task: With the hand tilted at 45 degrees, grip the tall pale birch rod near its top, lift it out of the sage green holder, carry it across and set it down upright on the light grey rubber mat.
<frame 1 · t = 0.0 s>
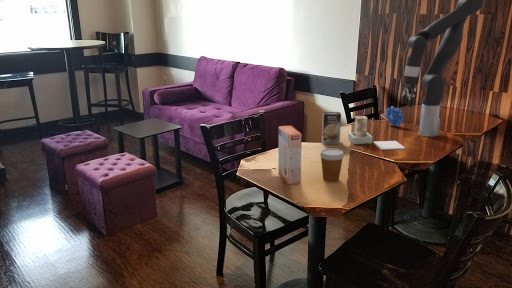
hand: (406, 105, 212), 17 cm above the table, tool pointing down, fingers open, 8 cm apart
coffee box: (330, 142, 208), on the table
grey mat: (388, 145, 201), on the table
disposable coffee cup: (330, 180, 160), on the table
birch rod: (360, 129, 208), in the sage holder
sage holder: (359, 140, 210), on the table
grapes: (392, 126, 236), on the table
cracker box: (289, 178, 163), on the table
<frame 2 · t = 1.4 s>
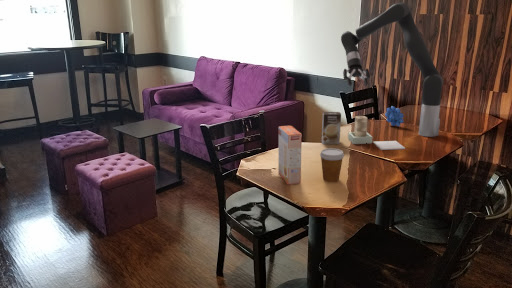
hand: (358, 85, 216), 27 cm above the table, tool tilted 45°, fingers open, 8 cm apart
nothing on the table moved.
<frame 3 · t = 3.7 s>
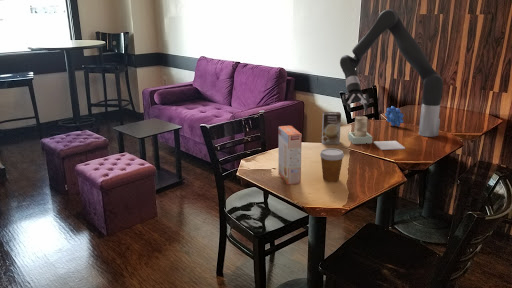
hand: (358, 110, 211), 15 cm above the table, tool tilted 45°, fingers open, 8 cm apart
nothing on the table moved.
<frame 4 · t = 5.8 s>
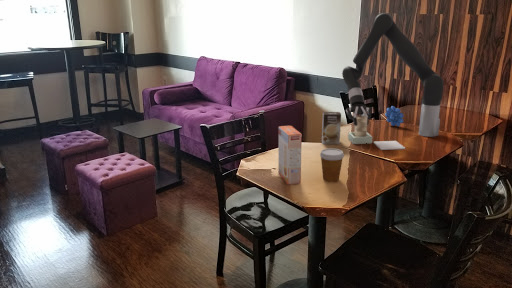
hand: (361, 124, 206), 9 cm above the table, tool tilted 45°, fingers closed on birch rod, 5 cm apart
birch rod: (360, 129, 208), in the sage holder, touching gripper
everything else where it was.
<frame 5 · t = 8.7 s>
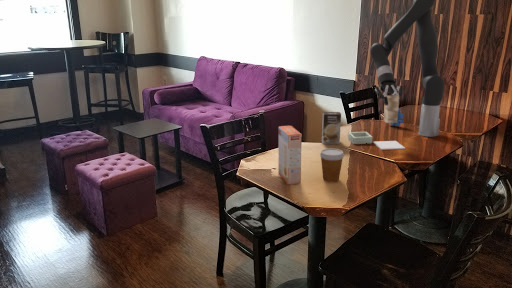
hand: (392, 104, 193), 22 cm above the table, tool tilted 45°, fingers closed on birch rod, 5 cm apart
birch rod: (391, 109, 195), point 19 cm above the table, touching gripper
everything else where it was.
when the fingers open (11 cm above the table, at t = 11.3 s): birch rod drops 1 cm, resting on grey mat.
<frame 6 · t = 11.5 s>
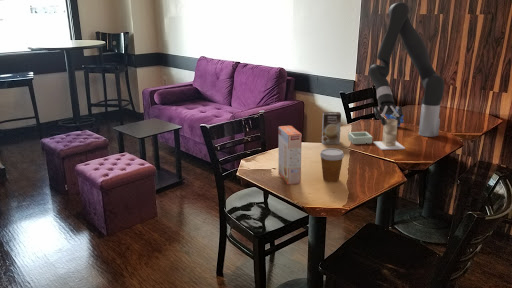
hand: (391, 124, 196), 11 cm above the table, tool tilted 45°, fingers open, 6 cm apart
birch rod: (389, 132, 199), on the grey mat, point 7 cm above the table
everything else where it was.
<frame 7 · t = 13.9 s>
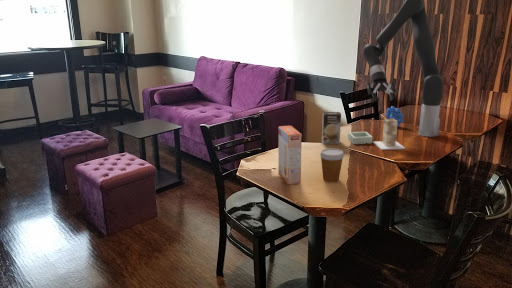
hand: (383, 100, 205), 21 cm above the table, tool tilted 45°, fingers open, 8 cm apart
nothing on the table moved.
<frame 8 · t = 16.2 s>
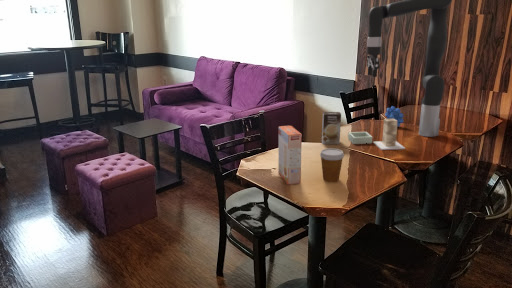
hand: (372, 75, 217), 32 cm above the table, tool pointing down, fingers open, 8 cm apart
nothing on the table moved.
at the end: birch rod inside the target area on the grey mat (0.1 cm from its centre), point 7.1 cm above the grey mat's base; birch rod tilted 0°; the gripper is holding nothing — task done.
